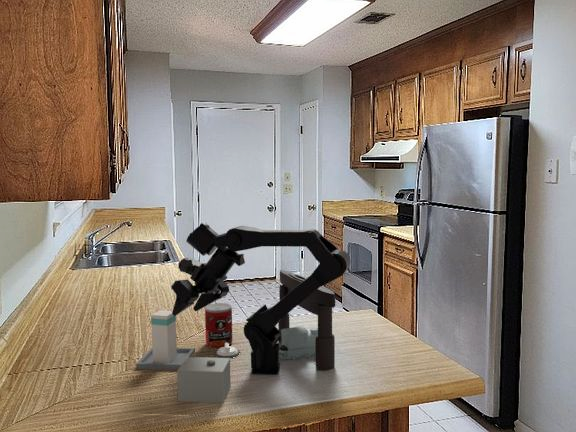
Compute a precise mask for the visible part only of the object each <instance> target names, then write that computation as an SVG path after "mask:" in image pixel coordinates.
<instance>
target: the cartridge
mask: <svg viewBox="0 0 576 432" xmlns="http://www.w3.org/2000/svg"><path fill="white" fill-rule="evenodd" d="M172 311H173V310H162V309H160V310H157V311H156V312H154V313H152V314H150V323H151V324H150V325H151V344H152V345H151V346H152V347H151V348H152V350H153V362H159V363H170V362H171V361H173V360H174V359H175V358H177V348H178V347H177V346H178V345H177V315H176V316H174V315H173V314H172Z"/></svg>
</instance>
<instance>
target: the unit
mask: <svg viewBox="0 0 576 432" xmlns="http://www.w3.org/2000/svg"><path fill="white" fill-rule="evenodd" d="M176 371H177V372H176V373H177V398H178V399H177V400H178V402H192V403H193V402H195V403H206V404H207V403H212V404H213V403H215V404H224V403H225V401H226V398H227V396H228V394H229V391H230V390H231V388H232V386H231V383H232V382H231V359H230V358H218V357H203V356H202V357H198V356H196V357H195V356H194V357H193V356H192V357H187V358H186V360H185V361H184V362H183V364H182V365H181V366H180V368H179V369H178V370H176Z"/></svg>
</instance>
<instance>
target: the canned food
mask: <svg viewBox="0 0 576 432" xmlns="http://www.w3.org/2000/svg"><path fill="white" fill-rule="evenodd" d="M204 319H205V321H204V323H205V343H206V345H208V346H207V347H209V346H211V347H210V348H213V347H225V343H229V345H230V344H231V343H233V306H232V305H231V304H229V303H222V302H218V303H217V302H214V303H211V304H209V305H207V306H205V307H204ZM231 345H232V344H231ZM231 345H230V346H231Z"/></svg>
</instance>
